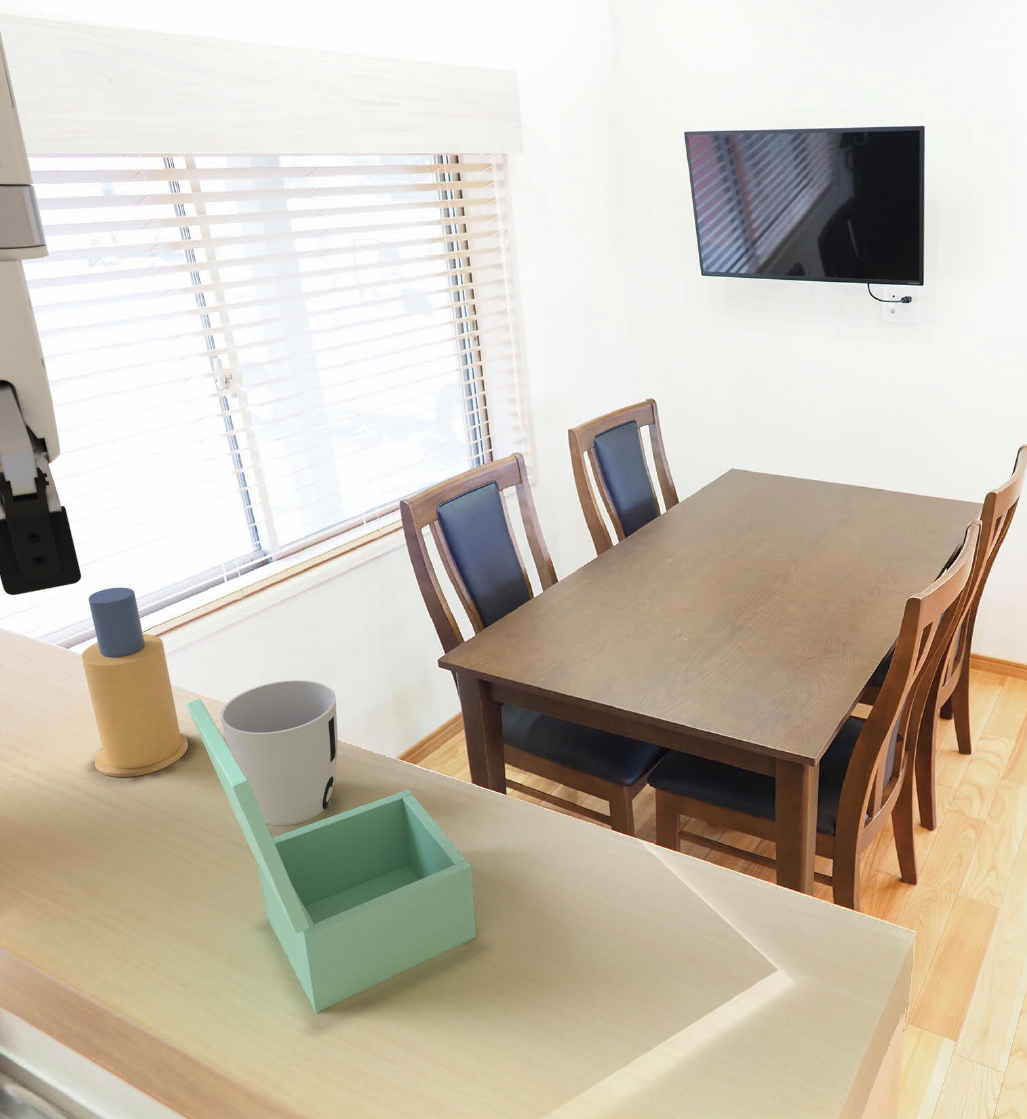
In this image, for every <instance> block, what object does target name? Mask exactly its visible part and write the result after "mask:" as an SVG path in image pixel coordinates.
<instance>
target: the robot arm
mask: <svg viewBox="0 0 1027 1119" xmlns="http://www.w3.org/2000/svg"><path fill="white" fill-rule="evenodd" d="M29 161H30V160H29V157H28V153H27V148H26V143H25V139H24V133H23V130H22V125H21V120H20V116H19V112H18V106H17V103H16V98H15V91H14V89H13V83H12V79H11V74H10V70H9V65H8V60H7V55H6V52H5V46H4V42H3V38H2V33H1V32H0V582H1V586H2V589H3V591H4V592H5V593H6V594H8V595H9V596H18V595H23V594H28V593H33V592H39V591H43V590H49V589H54V588H59V587H63V586H64V587H65V586H69V585H70V586H71V585H74V584H77V583H78V582H80V581H81V578H82V572H81V568H80V564H79V560H78V555H77V551H76V546H75V542H74V539H73V533H72V529H71V525H70V521H69V517H68V512H67V509H66V507H65V505H62V504H61V501H60V500H61V499H60V496H59V493H58V491H57V487H56V484H55V480H54V478H53V475H52V471H51V469H50V464H52V463H53V462H54V461H55V460H57V459H58V458H59V456H61V446H60V439H59V433H58V426H57V420H56V415H55V414H56V413H55V409H54V408H55V407H54V403H53V398H52V391H51V387H50V382H49V377H48V372H47V371H48V370H47V367H46V362H45V356H44V352H43V348H42V343H41V339H40V334H39V329H38V325H37V321H36V316H35V312H34V307H33V304H32V299H31V295H30V291H29V287H28V282H27V278H26V274H25V273H26V272H25V270H24V266H23V265H24V264H23V261H22V260H35V259H42V258H45V257H49V256H50V253H49V250H48V246H47V241H46V235H45V230H44V227H43V221H42V217H41V214H40V207H39V203H38V198H37V194H36V190H35V186H34V185H33V184H34V181H33V176H32V170H31V166H30V162H29Z"/></svg>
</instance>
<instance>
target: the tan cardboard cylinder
mask: <svg viewBox="0 0 1027 1119" xmlns="http://www.w3.org/2000/svg"><path fill="white" fill-rule="evenodd" d="M88 604H89V608H90V609H89V610H90V612H91V617H92V622H93V626H94V631H95V636H96V640H97V642H95V643H93V644H92V645H90V646H88V647H87V648H86V649H85V650H84V651H83V652H82V654H81V661H82V664H83V669H84V673H85V678H86V682H87V687H88V691H89V695H90V699H91V705H92V709H93V712H94V717H95V721H96V722H95V723H96V727H97V730H98V734H99V735H98V736H99V740H100V743H101V744H100V745H101V747H102V748H103V753H104V757H105V761H106V762H107V763H108V764H109V765H111V766H113V767H117V768H139V767H144V766H149V765H152V764H155V763H158V762H160V761H163V760H165V759H167V758H169V757H170V756H172V755H173V754H174V753H176V752H177V751H178V749H179V748H180V746H181V744H182V740H181V735H180V733H181V730H180V726H179V720H178V716H177V715H178V714H177V710H176V709H177V708H176V705H175V699H174V695H173V689H172V684H171V679H170V672H169V667H168V662H167V657H166V652H165V648H164V641H163V640H162V639H161V638H160V637H159V636H156V635H154V634H148V633H143V629H142V622H141V618H140V613H139V608H138V604H137V598H136V593H135V591H134V589H133V588H129V587H110V588H104V589H101V590H99V591H96V592H94V593H92V594H90V595H89V597H88ZM102 748H101V749H102Z"/></svg>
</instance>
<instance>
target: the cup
mask: <svg viewBox="0 0 1027 1119" xmlns="http://www.w3.org/2000/svg"><path fill="white" fill-rule="evenodd" d="M219 716H220V717H219V718H220V722H221V725H222V730H223V733H224V737H225V742H226V744H227V745H228V747H229V749H230V750H231V752H232V754H233V756H234V757H235V759H236V761H237V762H238V764H239V766H240V768H241V769H242V771H243V773H244V774H245V776H246V778H247V780H248V782H249V784H250V786H251V789H252V791H253V793H254V796H255V798H256V801H257V803H258V805H259V808H260V810H261V812H262V815H263V817H264V820H265V822H266V824H267V825H271V826H272V825H274V826H290V825H291V826H292V825H296V824H300V823H303V822H306V821H309V820H311V819H313V818H316V817H317V816H318V815H320V814H321V813H323V812H324V811H326V809H327V808H328V806H329V805H330V802H331V799H332V795H333V791H334V788H335V783H336V775H337V762H338V760H337V759H338V748H339V736H338V735H339V734H338V717H337V699H336V694H335V691H334V690H333V689H332V688H331V687H329V686H327V685H326V684H323V683H320V682H317V681H312V680H303V679H301V680H300V679H295V680H293V679H291V680H281V681H274V682H270V683H266V684H261V685H259V686H255V687H253V688H250V689H248V690H245V691H243V692H241V693H239V694H238V695H236V696H234V697H233V698H231V699H230V700H229V701H227V703H226V704H225V705H224V706H223V707H222V710H221V711H220V715H219Z"/></svg>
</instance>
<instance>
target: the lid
mask: <svg viewBox="0 0 1027 1119" xmlns="http://www.w3.org/2000/svg"><path fill="white" fill-rule="evenodd" d="M186 707H187V710H188V711H189V714H190V716H191V718H192V721H193V723H194V725H195V728H196V729H197V732H198V734H199V736H200V739H201V740H202V742H203V745H204V748H205V750H206V752H207V755H208V757H209V759H210V762H211V764H212V766H213V768H214V770H215V773H216V775H217V777H218V780H219V781H220V784H221V786H222V789H223V791H224V793H225V795H226V797H227V801H228V802H229V804H230V807H231V809H232V812H233V814H234V816H235V818H236V820H237V822H238V825H239V827H240V829H241V832H242V833H243V836H244V838H245V841H246V843H247V845H248V846H249V849H250V850H251V852H252V854H253V857H254V858H255V859H256V863H257V862H258V863H259V865H260V867H261V869H262V871H263V873H264V875H265V877H266V878H267V880H268V882H269V884H270V886H271V888H272V890H273V892H274V894H275V895H276V897H277V899H278V901H279V903H280V905H281V907H282V909H283V910H284V912H285V914H286V916H287V918H288V920H289V922H290V924H291V925H292V927H293V929H294V931H295V933H296V934H298V933H300V932H302V931H303V930H305V929H307V928H308V927H309V924H308V921H307V919H306V917H305V914H304V912H303V909H302V907H301V905H300V902H299V900H298V898H297V895H296V893H295V891H294V888H293V886H292V883H291V881H290V879H289V876H288V874H287V872H286V869H285V867H284V865H283V862H282V860H281V857H280V855H279V853H278V850H277V848H276V846H275V843H274V841H273V836H272V834H271V831H270V829H269V826H268V823H266V822H265V820H264V817H263V815H262V812H261V810H260V808H259V805H258V803H257V801H256V798H255V796H254V793H253V791H252V789H251V786H250V784H249V782H248V780H247V778H246V776H245V774H244V773H243V771H242V769H241V768H240V766H239V764H238V762H237V761H236V759H235V757H234V756H233V754H232V752H231V750H230V749H229V747H228V745H227V741H226V739H225V738H224V736H223V735H222V733H221V731H220V730H219V728H218V726H217V725H216V723H215V721H214V720H213V717H212V716H211V715H210V713H209V711H208V709H207V708H206V705H205V704H204V702H203V700H202V699H201V698H198V699H195V700H193V701H190V702H188V703H187V704H186Z"/></svg>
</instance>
